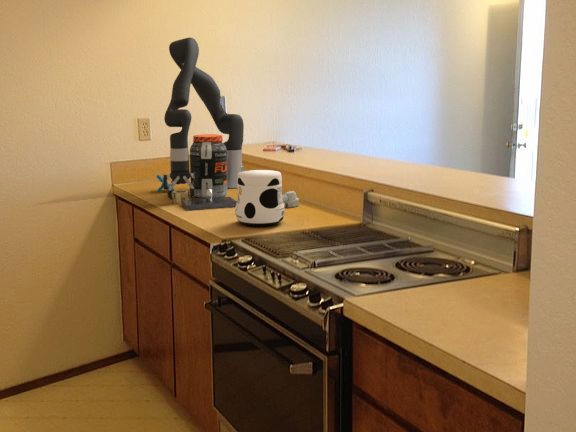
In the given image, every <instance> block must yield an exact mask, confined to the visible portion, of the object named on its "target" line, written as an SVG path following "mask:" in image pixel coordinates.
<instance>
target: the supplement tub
mask: <svg viewBox="0 0 576 432" xmlns="http://www.w3.org/2000/svg"><path fill="white" fill-rule="evenodd" d="M192 138H193V139H192V144H191V146H190V147H189V172H190V173H194V172H196V173H197V175H198V187H196V188H194V197H196V198H198V199H202V198H206V189H212V198H216V197H226V195H227V194H228V188H227V149H226V146H225V145H224V144H223V143H224V142H223V141H224V140H223V139H224V138H223V135H222V134H214V133H213V134H211V133H210V134H195V135H193V137H192ZM189 179H190V182H191V184H192V185H194V178H192V176H190V178H189Z"/></svg>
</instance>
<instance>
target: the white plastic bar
mask: <svg viewBox="0 0 576 432" xmlns="http://www.w3.org/2000/svg"><path fill="white" fill-rule="evenodd" d="M282 200H283V204H284V208H295V207H296V208H297V206H299V201H300V198H299V197H297V194H296V192H295V191H294V190H289V191H287V192H285V193H282Z"/></svg>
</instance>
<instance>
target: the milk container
mask: <svg viewBox="0 0 576 432" xmlns="http://www.w3.org/2000/svg"><path fill="white" fill-rule="evenodd" d="M237 182H238V185H237V188H236V189H237V200H236V201H237V204H236V207H235V217H236V219H237V221H238V222H239V223H240V224H243V225H246V226H247V225H248V226H253V227H257V226H259V227H262V226H264V227H265V226H272V225H276V224H278V223H281V222H282V221H283V220H284V217H285V211H286V209H285V203H284V202H283V200H282V194H283V193H282V192H283V185H282V183H283V178H282V173H281V172H280V171H278V170H272V169H270V170H269V169H253V170H251V169H250V170H244V171H243V172H239V173H238V177H237Z"/></svg>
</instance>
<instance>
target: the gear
mask: <svg viewBox="0 0 576 432" xmlns="http://www.w3.org/2000/svg"><path fill="white" fill-rule="evenodd" d="M156 179H158V181H159V182H160V183H161V185H160V186H159V188H158V189H157V190H156V191H157V192H160V191H162V190H164V188H163V177H162V176H161V175H160V174H157V175H156ZM169 184H170V182H168V181H167V187H168V186H169ZM171 191H172V192H173V191H175V189H174V187H173V188H172V189H171Z"/></svg>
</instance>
